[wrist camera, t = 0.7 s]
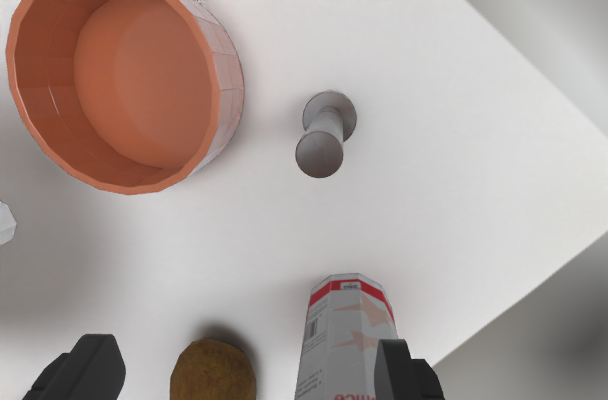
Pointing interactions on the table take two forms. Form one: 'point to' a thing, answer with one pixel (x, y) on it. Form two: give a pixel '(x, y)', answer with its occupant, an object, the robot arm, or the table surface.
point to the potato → (212, 373)
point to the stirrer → (325, 133)
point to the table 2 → (6, 224)
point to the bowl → (125, 88)
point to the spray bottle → (343, 339)
